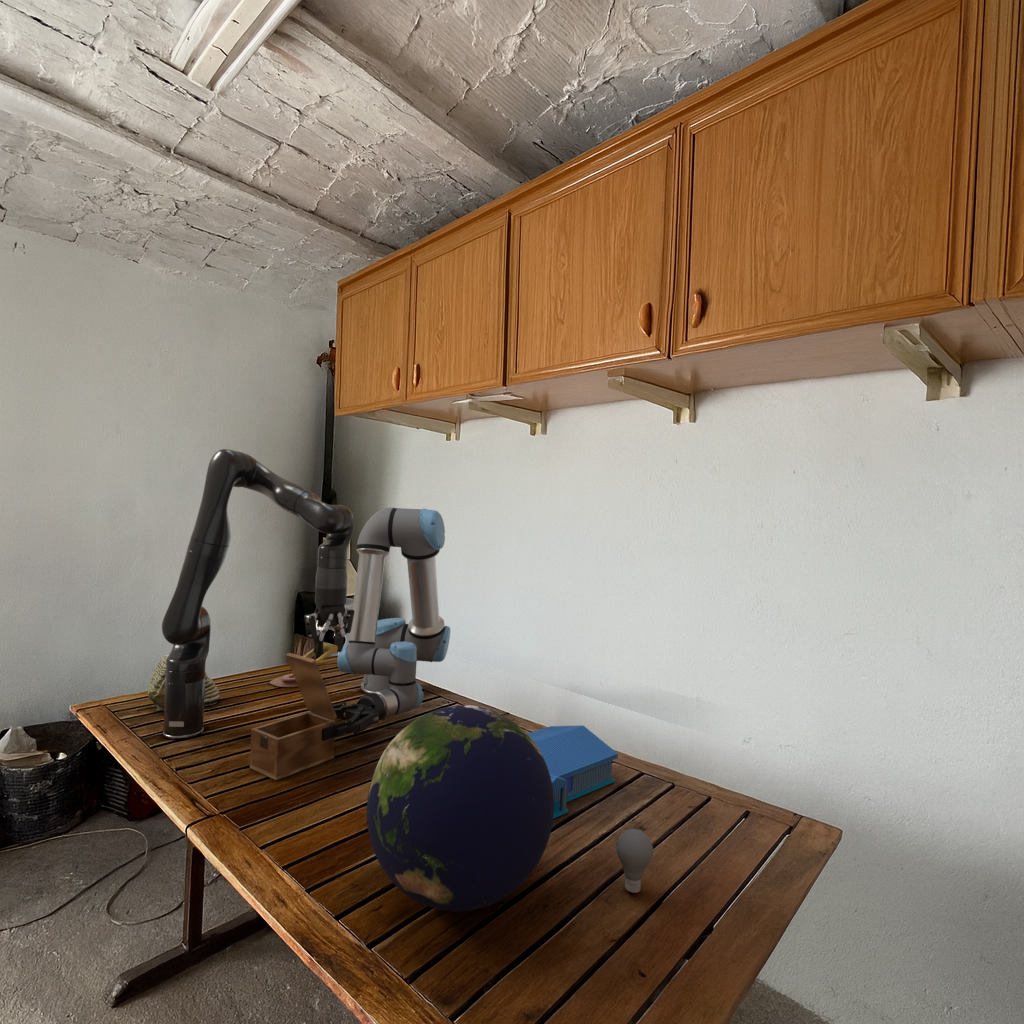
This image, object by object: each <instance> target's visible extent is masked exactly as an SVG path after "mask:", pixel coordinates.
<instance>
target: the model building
mask: <svg viewBox="0 0 1024 1024" xmlns="http://www.w3.org/2000/svg"><path fill="white" fill-rule="evenodd" d="M526 733H527V734H528V735H529V736H530V737H531V739H532V740H533V741H534V742H535V744H536V745H537V747H538V748H539V750H540V752H541V753H542V755H543V757H544V760H545V763H546V765H547V767H548V770H549V774H550V777H551V782H552V786H553V794H554V816H553V820H554V819H556V818H558V817H560V816H563V815H565V814H567V813H569V809H568V808H567V803H569V802H571V801H573V800H575V799H577V798H580V797H582V796H586V795H587V794H589V793H590V794H591V793H592V792H594V791H597V790H599V789H601V788H604V787H606V786H608V785H611V784H614V783H616V779H615V778H613V777H612V775H613V761H615V760H617V759H619V753H618V752H617V751H616V750H615V749H613V748H612V747H611V746H609V745H608V744H607V743H606V742H604V741H603V740H602V738H600V737H599V736H597V735H596V734H594V733H593V732H592V731H591V730H590V729H588V728H587V727H586V726H585V725H553V726H552V725H551V726H546V727H544V728H540V729H537V730H534V731H531V732H530V731H529V732H526Z"/></svg>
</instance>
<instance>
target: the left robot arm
mask: <svg viewBox="0 0 1024 1024" xmlns="http://www.w3.org/2000/svg"><path fill="white" fill-rule="evenodd" d="M233 488H244V489H247V490H252V491H254V492H256V493H259V494H262V495H264V496H266V497H267V498H269V500H271V502H273V503H274V504H275V505H277V506H278V507H279V508H281V509H282V510H284V511H286V512H288V513H290V514H291V515H293V516H295V517H298V518H300V519H302V521H304V522H305V523H306V524H307V525H309V526H310V527H311V528H313V529H314V530H316V531H318V532H320V533H323V534H326V538H325V541H324V542H323V543H321V544H319V546H318V548H317V562H316V563H317V564H316V573H315V585H314V586H315V588H314V604H315V606H316V607H315V610H314V613H313V612H312V613H310V614H305V615H304V616H303V618H304V625H305V633H306V634H305V635H306V638H307V639H310V640H313V649H314V653H313V654H314V655H315V656H317V657H320V656H322V655H323V654H324V651H323V642H324V638H325V635H326V633H327V632H329V631H328V630H329V628H332V629H333V632H334V635H335V636H334V640H333V641H334V643H333V645H336V646H337V647H338V650H337V652H336V653H339V652H341V651H342V649H343V646H344V641H345V640H344V639H345V636H346V635H347V634H350V632H351V628H352V623H353V617H354V610H353V608H346V606H345V605H346V604H347V598H348V597H347V594H348V570H347V567H348V549H349V545H350V543H351V538H352V534H353V530H354V525H355V523H354V522H355V521H354V514H353V513H352V510H351V509H350V508H349V507H348V506H346V505H343V504H328V503H326V502H324V501H322V500H321V497H319V496H318V495H317V494H316V493H314V492H312V491H311V490H309V489H306V488H304V487H302V486H300V485H298V484H296V483H294V482H292V481H290V480H288V479H286V478H283V477H282V476H279V475H278V474H276V473H274V471H272V470H270V469H269V468H267V467H266V466H265V465H263V464H262V463H261V462H259V461H258V460H257V459H256V458H254V457H252V456H251V454H248V453H245V452H242V451H237V450H234V449H229V448H221V449H219V450H218V451H216V452H215V453H214V454H213V455H212V456H211V458H210V460H209V463H208V465H207V471H206V476H205V481H204V487H203V491H202V497H201V501H200V506H199V509H198V513H197V516H196V520H195V522H194V527H193V530H192V533H191V535H190V539H189V543H188V545H187V549H186V552H185V557H184V560H183V563H182V566H181V570H180V574H179V577H178V580H177V584H176V587H175V590H174V593H173V595H172V598H171V600H170V603H169V604H168V607H167V609H166V610H165V611H166V612H165V614H164V616H163V618H162V622H161V631H162V632H161V633H162V636H163V637H164V639H165V640H166V642H168V643H169V644H171V645H172V648H171V651H170V653H169V654H168V655H169V656H168V657H167V659H166V674H165V705H164V710H163V731H162V737H164V738H166V739H169V740H185V739H190V738H191V739H192V738H194V737H197V736H199V735H202V734H203V732H204V730H205V729H204V722H205V721H204V718H205V706H204V693H205V672H206V664H207V663H206V662H207V658H208V655H209V653H210V642H211V628H212V627H211V626H212V621H211V617H210V613H209V611H208V610H207V608H205V607H203V603H204V600H205V597H206V594H207V592H208V590H209V588H210V587H211V585H212V584H213V582H214V581H215V579H216V577H217V576H218V574H219V573H220V571H221V569H222V567H223V564H224V563H225V560H226V557H227V554H228V551H229V547H230V544H231V539H232V533H231V524H230V520H229V513H228V507H229V501H230V498H231V494H232V491H233Z"/></svg>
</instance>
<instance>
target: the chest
mask: <svg viewBox="0 0 1024 1024" xmlns="http://www.w3.org/2000/svg"><path fill="white" fill-rule="evenodd" d="M335 724H336V720H335V719H334V720H333V719H332V720H331V719H328V718H326V717H323V716H320V715H317V714H314V713H311V712H310V711H307V712H303V713H300V714H297V715H293V716H290V717H286V718H284V719H280V720H276V721H273V722H270V723H267V724H263V725H259V726H257V727H253V728H251V729H250V752H249V754H250V755H249V769H251V770H253V771H255V772H258V773H259V774H261V775H264V776H266V777H268V778H270V779H272V780H275V781H279V780H281V779H284V778H286V777H288V776H291V775H294V774H296V773H299V772H302V771H304V770H307V769H309V768H312V767H315V766H317V765H320V764H322V763H325V762H328V761H330V760H333V759H335V745H336V744H335V743H336V742H335V741H336V737H333V738H330V739H328V740H325V741H323V740H322V729H323V728H326V727H329V726H332V725H335Z"/></svg>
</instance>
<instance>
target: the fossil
mask: <svg viewBox="0 0 1024 1024" xmlns="http://www.w3.org/2000/svg"><path fill="white" fill-rule="evenodd" d="M168 656H169V654H165V655H164V656H163V657H162V658H161V659H160V660H159V662H158V663H157V666H156V667H155V669H154V670H153V672H152V675H151V677H150V680H149V684H148V688H147V697H148V699H149V700H150V701H152V703H153V704H154V706H155V711H158V712H159V711H162V712H163V711H164V705H165V674H166V659H167V657H168ZM220 698H221V696H220V690H219V688H218V686H217V685H216V683H215V682H214V681H213V679H212V678H211V677H209V675H208V674H207V672H206V671H205V693H204V707H207V706H213V705H215V704H217V703H218V701H219V699H220Z"/></svg>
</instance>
